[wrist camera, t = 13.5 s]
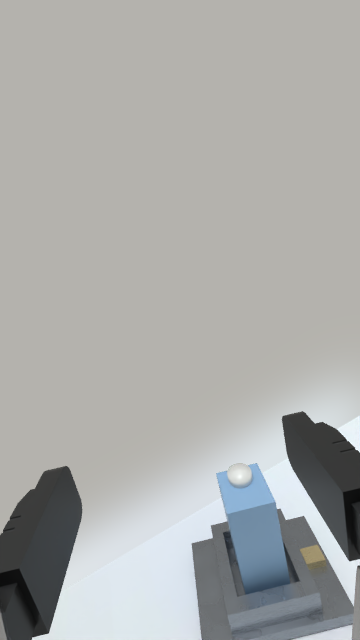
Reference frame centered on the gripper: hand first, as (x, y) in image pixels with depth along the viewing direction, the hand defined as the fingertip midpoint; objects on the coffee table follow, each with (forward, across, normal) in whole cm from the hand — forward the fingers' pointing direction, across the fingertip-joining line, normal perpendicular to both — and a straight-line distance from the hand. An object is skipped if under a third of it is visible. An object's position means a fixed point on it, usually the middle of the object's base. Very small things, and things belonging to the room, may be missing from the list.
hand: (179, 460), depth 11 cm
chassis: (+14, -4, +28) cm, 32 cm away
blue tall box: (+14, -4, +27) cm, 31 cm away
